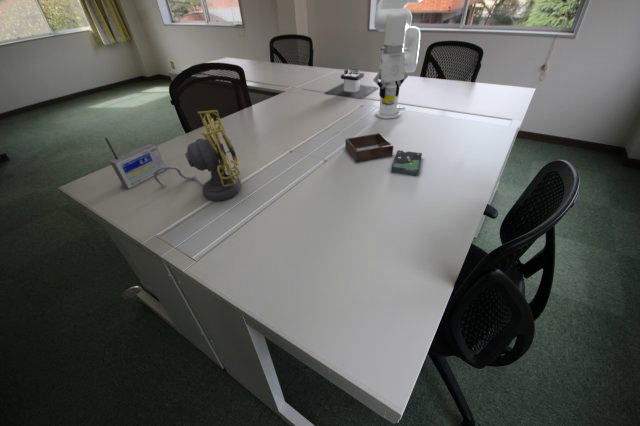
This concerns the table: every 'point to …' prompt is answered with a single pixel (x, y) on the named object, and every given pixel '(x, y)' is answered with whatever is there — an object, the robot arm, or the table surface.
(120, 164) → the electronic device
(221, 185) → the electric fan
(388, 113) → the robot arm
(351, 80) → the black-topped pedestal
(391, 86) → the supplement bottle
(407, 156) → the disk drive
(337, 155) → the table surface
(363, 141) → the desk caddy
